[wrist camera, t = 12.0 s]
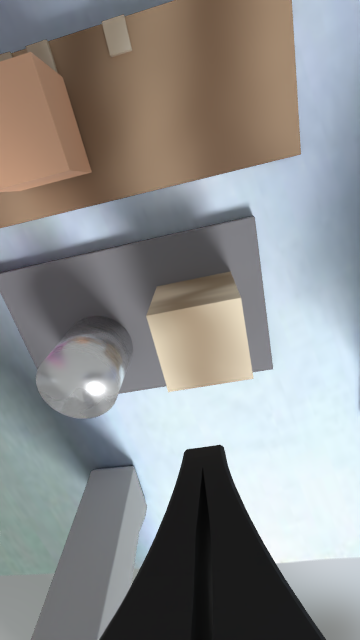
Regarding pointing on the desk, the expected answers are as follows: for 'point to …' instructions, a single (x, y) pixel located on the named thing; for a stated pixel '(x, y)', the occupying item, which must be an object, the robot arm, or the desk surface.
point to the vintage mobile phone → (95, 558)
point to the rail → (170, 99)
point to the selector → (36, 126)
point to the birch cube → (200, 332)
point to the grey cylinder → (86, 368)
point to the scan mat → (137, 292)
